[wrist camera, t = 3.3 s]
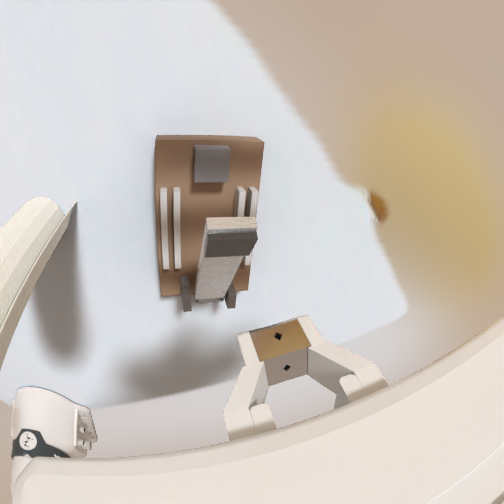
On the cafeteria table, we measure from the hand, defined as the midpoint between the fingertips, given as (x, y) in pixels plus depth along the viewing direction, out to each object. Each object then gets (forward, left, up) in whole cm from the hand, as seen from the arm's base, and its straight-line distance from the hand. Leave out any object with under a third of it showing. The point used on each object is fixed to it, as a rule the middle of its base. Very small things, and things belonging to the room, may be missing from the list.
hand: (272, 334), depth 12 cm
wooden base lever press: (-4, 0, -22) cm, 23 cm away
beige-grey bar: (-5, 0, -13) cm, 14 cm away
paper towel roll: (-4, +18, -22) cm, 29 cm away
